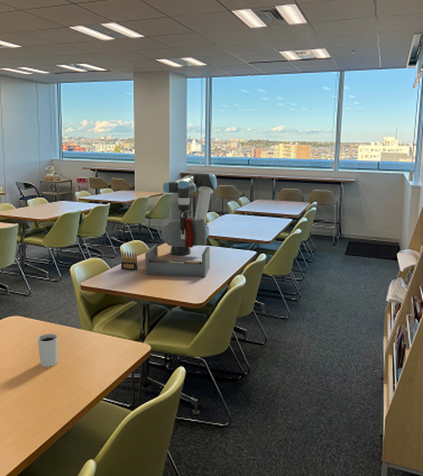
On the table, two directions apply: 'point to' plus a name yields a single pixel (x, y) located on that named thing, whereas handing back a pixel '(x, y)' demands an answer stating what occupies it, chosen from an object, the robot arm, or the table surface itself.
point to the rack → (176, 265)
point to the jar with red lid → (193, 233)
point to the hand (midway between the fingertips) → (184, 237)
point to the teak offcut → (194, 262)
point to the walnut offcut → (160, 260)
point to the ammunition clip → (129, 261)
